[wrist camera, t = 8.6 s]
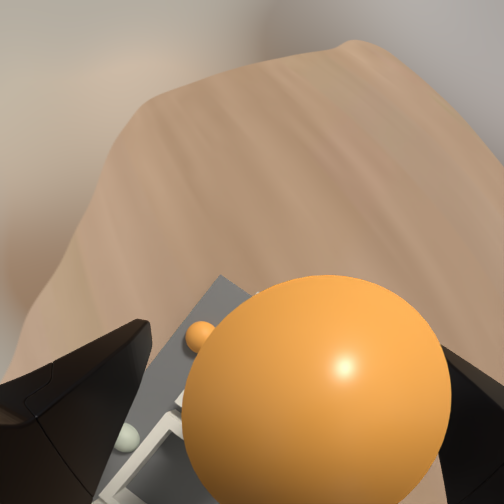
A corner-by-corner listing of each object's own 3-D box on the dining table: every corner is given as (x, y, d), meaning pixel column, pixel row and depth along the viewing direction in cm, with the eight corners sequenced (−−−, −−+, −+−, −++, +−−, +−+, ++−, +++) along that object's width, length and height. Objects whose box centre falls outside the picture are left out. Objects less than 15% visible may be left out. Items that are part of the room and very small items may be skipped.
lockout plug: (303, 436, 14) (409, 535, 3) (218, 416, 15) (151, 500, 4) (324, 356, 16) (464, 305, 5) (242, 336, 16) (228, 245, 5)
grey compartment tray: (157, 597, 9) (148, 616, 6) (43, 511, 11) (21, 521, 9) (361, 371, 16) (380, 369, 14) (221, 278, 18) (217, 261, 16)
